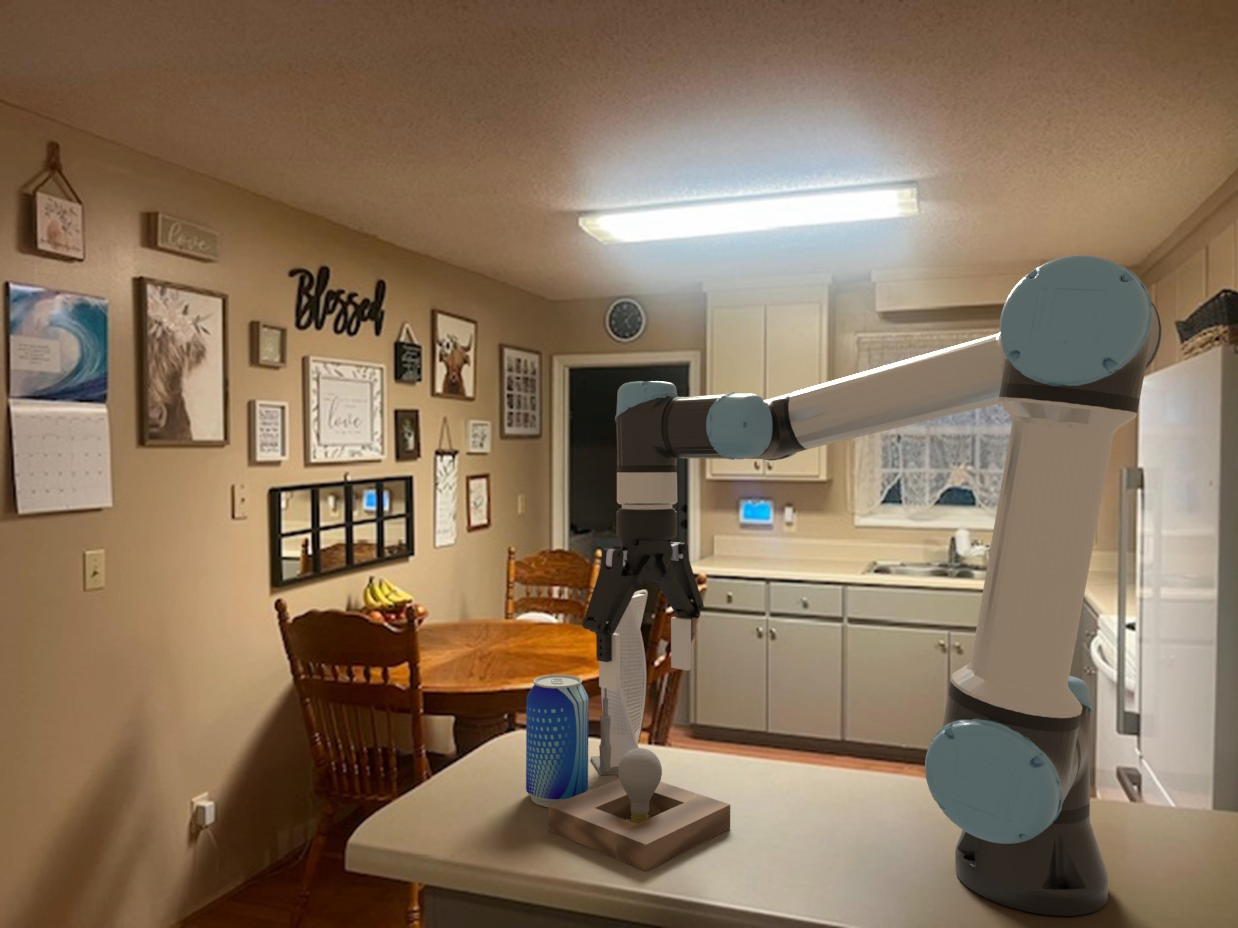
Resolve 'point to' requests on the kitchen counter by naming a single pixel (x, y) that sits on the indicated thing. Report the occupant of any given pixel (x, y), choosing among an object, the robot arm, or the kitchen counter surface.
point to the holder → (648, 842)
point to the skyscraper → (624, 692)
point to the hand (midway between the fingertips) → (646, 678)
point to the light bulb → (639, 780)
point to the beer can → (556, 739)
